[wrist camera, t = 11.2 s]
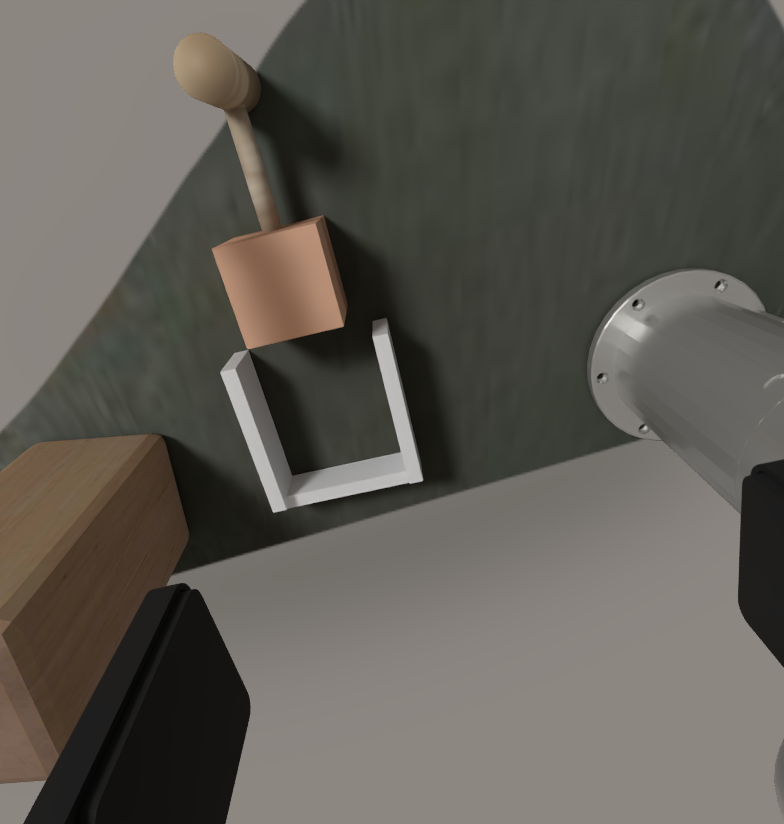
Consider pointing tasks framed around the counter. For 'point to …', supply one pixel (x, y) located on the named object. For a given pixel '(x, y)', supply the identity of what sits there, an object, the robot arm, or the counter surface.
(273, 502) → the white u-shaped bracket
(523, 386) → the counter surface
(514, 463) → the counter surface
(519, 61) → the counter surface
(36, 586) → the wooden block
